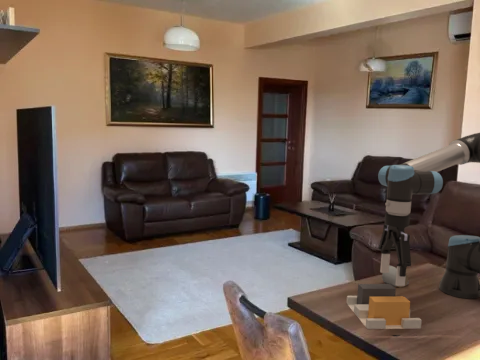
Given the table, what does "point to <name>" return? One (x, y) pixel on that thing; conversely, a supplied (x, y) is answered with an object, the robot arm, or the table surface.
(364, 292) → the dark gray brick
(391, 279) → the ceramic mug
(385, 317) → the tall orange brick
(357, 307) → the rack
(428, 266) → the table surface
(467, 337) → the table surface
